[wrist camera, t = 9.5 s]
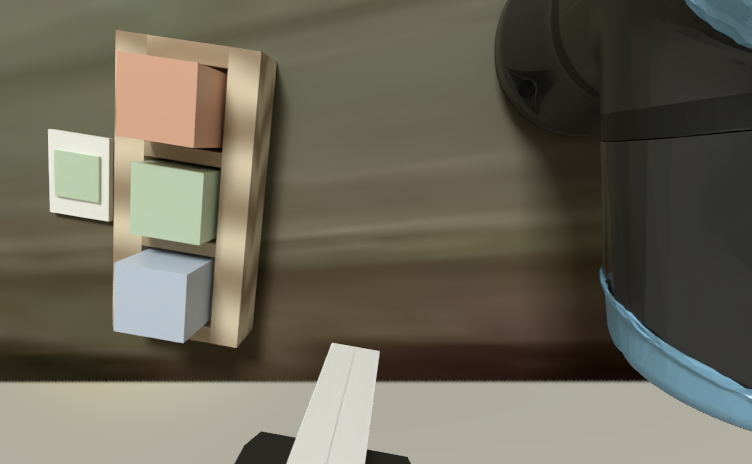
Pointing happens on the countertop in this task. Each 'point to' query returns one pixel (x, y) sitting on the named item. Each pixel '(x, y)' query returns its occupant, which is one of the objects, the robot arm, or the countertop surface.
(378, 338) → the countertop surface
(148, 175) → the sage key
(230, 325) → the key panel
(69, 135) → the card
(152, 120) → the terracotta key
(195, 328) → the slate key
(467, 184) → the countertop surface
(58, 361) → the countertop surface
